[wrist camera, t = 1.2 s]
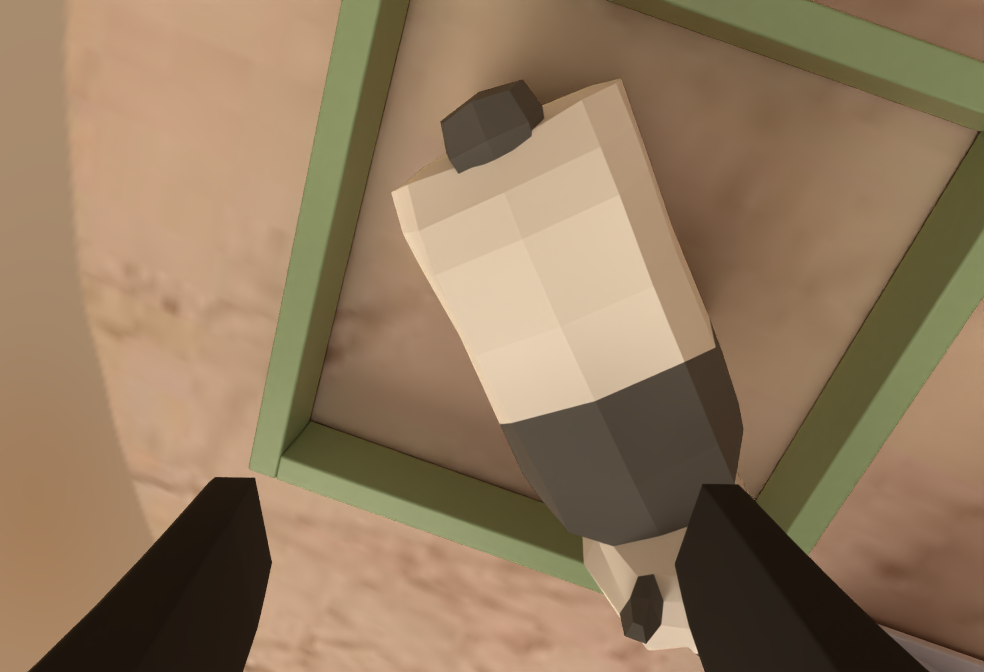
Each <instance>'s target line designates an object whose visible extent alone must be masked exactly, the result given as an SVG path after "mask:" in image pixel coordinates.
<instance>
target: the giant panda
mask: <svg viewBox="0 0 984 672" xmlns="http://www.w3.org/2000/svg"><path fill="white" fill-rule="evenodd" d="M440 122H441V127H442V132H443V137H444V142H445V147H446V153H447V154H446V155H444V156H442V157H440V158H439V159H437V160H435V161H434V162H432V163H430V164H429V165H427V166H425V167H423V168H422V169H421V170H420V171H419V172H417V173H416V174H415V175H414V176H413V177H412V178H410V179H409V180H408V181H407V182H406V183H405V184H403V185H402V186H400V187H399V188H397V189H396V190H394V191H393V192H391V194H392V198H393V201H394V204H395V208H396V211H397V215H398V218H399V222H400V225H401V229H402V232H403V235H404V237H405V238H406V240H407V242H408V244H409V246H410V248H411V250H412V252H413V254H414V256H415V257H416V259H417V261H418V263H419V265H420V267H421V269H422V271H423V273H424V274H425V276H426V278H427V280H428V281H429V283H430V285H431V287H432V288H433V290H434V292H435V294H436V295H437V297H438V299H439V301H440V302H441V304H442V306H443V308H444V309H445V311H446V313H447V315H448V316H449V318H450V320H451V322H452V323H453V325H454V327H455V329H456V330H457V332H458V334H459V336H460V338H461V340H462V342H463V344H464V347H465V349H466V351H467V353H468V355H469V358H470V360H471V362H472V364H473V366H474V369H475V371H476V373H477V375H478V377H479V380H480V382H481V384H482V386H483V388H484V391H485V393H486V395H487V397H488V399H489V402H490V404H491V406H492V408H493V410H494V413H495V415H496V417H497V419H498V421H499V424H500V426H501V428H502V430H503V432H504V434H505V436H506V439H507V441H508V443H509V445H510V447H511V449H512V451H513V454H514V456H515V458H516V460H517V462H518V464H519V466H520V469H521V471H522V473H523V475H524V476H525V478H526V479H527V480H528V482H529V483H530V485H531V486H532V488H533V489H534V491H535V492H536V493H537V495H538V496H539V497H540V498H541V500H542V501H543V502H544V503H545V504H546V506H547V507H548V508H549V509H550V510H551V512H552V513H553V514H554V515H555V516H556V518H557V519H558V520H559V521H560V522H561V523H562V525H563V526H564V527H565V528H566V529H567V531H568V532H569V533H572V534H575V535H578V536H582V537H583V557H584V565H585V567H586V568H587V570H588V571H589V572H590V574H591V575H592V577H593V578H594V580H595V581H596V583H597V584H598V586H599V587H600V589H601V590H602V592H603V593H604V595H605V596H606V598H607V599H608V601H609V602H610V604H611V605H612V607H613V608H614V610H615V611H616V613H617V614H618V616H619V617H620V618H621V622H622V626H623V631H624V635H625V636H626V637H629V638H632V639H634V640H637V641H640V642H642V643H643V645H644V646H645V647H646V648H647V649H648V650H660V649H672V648H683V647H688V648H690V649H691V650H692V651H693V652H694V653H695V654H696V655H698V656H699V654H698V651H697V648H696V645H695V643H694V640H693V637H692V634H691V631H690V628H689V625H688V621H687V617H686V613H685V608H684V604H683V600H682V596H681V592H680V587H679V582H678V578H677V573H676V569H675V561H676V558H677V556H678V553H679V550H680V547H681V544H682V541H683V538H684V535H685V532H686V530H687V527H688V524H689V521H690V518H691V515H692V512H693V509H694V507H695V504H696V501H697V498H698V495H699V492H700V489H701V486H702V484H739V485H740V486H741V487H742V488H743V489H744V490H745V491H746V489H745V487H744V485H743V483H742V481H741V479H740V477H739V476H738V474H737V467H738V460H739V454H740V448H741V442H742V435H743V425H742V419H741V414H740V409H739V404H738V400H737V397H736V394H735V391H734V388H733V385H732V381H731V378H730V375H729V372H728V369H727V366H726V362H725V359H724V356H723V353H722V350H721V348H720V345H719V342H718V340H717V337H716V334H715V332H714V329H713V326H712V324H711V321H710V318H709V316H708V313H707V311H706V309H705V306H704V304H703V301H702V299H701V296H700V294H699V291H698V289H697V286H696V284H695V282H694V279H693V277H692V274H691V272H690V269H689V267H688V264H687V262H686V259H685V257H684V255H683V252H682V250H681V247H680V245H679V242H678V240H677V237H676V235H675V232H674V230H673V228H672V225H671V222H670V219H669V216H668V213H667V210H666V207H665V204H664V201H663V199H662V196H661V193H660V190H659V187H658V184H657V181H656V178H655V175H654V172H653V169H652V166H651V163H650V160H649V157H648V154H647V151H646V148H645V146H644V143H643V140H642V137H641V134H640V131H639V128H638V126H637V123H636V120H635V117H634V114H633V111H632V108H631V106H630V103H629V100H628V97H627V94H626V91H625V88H624V85H623V82H622V79H621V78H620V79H616V80H612V81H608V82H604V83H600V84H596V85H592V86H588V87H586V88H583V89H581V90H578V91H576V92H573V93H571V94H569V95H566V96H564V97H561V98H559V99H556V100H554V101H552V102H549V103H547V104H544V105H541V104H540V102H539V101H538V100H537V98H536V97H535V96H534V94H533V93H532V91H531V90H530V89H529V87H528V86H527V85H526V83H525V82H524V80H519V81H516V82H512V83H509V84H506V85H502V86H499V87H495V88H492V89H488V90H485V91H481V92H478V93H477V94H475V95H474V96H473V97H472V98H470V99H469V100H468V101H466V102H465V103H464V104H463V105H461V106H460V107H459V108H457V109H456V110H455V111H453V112H452V113H451V114H450V115H448V116H447V117H446V118H444V119H443V120H442V121H440ZM746 492H747V491H746Z"/></svg>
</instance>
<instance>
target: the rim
mask: <svg viewBox="0 0 984 672" xmlns="http://www.w3.org/2000/svg"><path fill="white" fill-rule="evenodd" d="M409 1H410V0H342V2H341V7H340V12H339V17H338V22H337V27H336V32H335V37H334V42H333V47H332V52H331V57H330V62H329V67H328V72H327V77H326V82H325V87H324V92H323V97H322V102H321V107H320V112H319V117H318V122H317V127H316V132H315V137H314V143H313V148H312V153H311V158H310V163H309V168H308V173H307V178H306V183H305V188H304V193H303V198H302V203H301V208H300V213H299V218H298V223H297V228H296V233H295V238H294V243H293V248H292V253H291V258H290V263H289V268H288V273H287V278H286V283H285V288H284V293H283V298H282V303H281V308H280V313H279V318H278V323H277V328H276V333H275V338H274V343H273V348H272V353H271V358H270V363H269V368H268V373H267V378H266V383H265V388H264V393H263V398H262V403H261V408H260V413H259V418H258V423H257V428H256V433H255V438H254V443H253V448H252V453H251V458H250V463H249V469H250V470H252V471H255V472H258V473H261V474H264V475H266V476H269V477H272V478H275V477H276V476H277V477H276V478H277V479H278V480H281V481H283V482H286V483H289V484H292V485H295V486H298V487H300V488H303V489H306V490H309V491H312V492H315V493H317V494H320V495H323V496H326V497H329V498H332V499H335V500H337V501H340V502H343V503H346V504H349V505H352V506H354V507H357V508H360V509H363V510H366V511H369V512H371V513H374V514H377V515H380V516H383V517H386V518H389V519H391V520H394V521H397V522H400V523H403V524H406V525H408V526H411V527H414V528H417V529H420V530H423V531H425V532H428V533H431V534H434V535H437V536H440V537H443V538H445V539H448V540H451V541H454V542H457V543H460V544H462V545H465V546H468V547H471V548H474V549H477V550H480V551H482V552H485V553H488V554H491V555H494V556H497V557H499V558H502V559H505V560H508V561H511V562H514V563H516V564H519V565H522V566H525V567H528V568H531V569H534V570H536V571H539V572H542V573H545V574H548V575H551V576H553V577H556V578H559V579H562V580H565V581H568V582H570V583H573V584H576V585H579V586H582V587H585V588H588V589H590V590H593V591H596V592H599V593H602V594H604V593H603V592H602V590H601V589H600V587H599V586H598V584H597V583H596V581H595V580H594V578H593V577H592V575H591V574H590V572H589V571H588V570H587V568H586V567H585V565H584V557H583V537H582V536H578V535H575V534H572V533H569V532H568V531H567V529H566V528H565V527H564V526H563V525H562V523H561V522H560V521H559V520H558V519H557V518H556V516H555V515H554V514H553V513H552V512H551V510H550V509H549V508H548V507H547V506H546V504H545V503H542V502H539V501H536V500H533V499H531V498H528V497H525V496H522V495H519V494H516V493H513V492H511V491H508V490H505V489H502V488H499V487H496V486H494V485H491V484H488V483H485V482H482V481H479V480H477V479H474V478H471V477H468V476H465V475H462V474H459V473H457V472H454V471H451V470H448V469H445V468H442V467H440V466H437V465H434V464H431V463H428V462H425V461H423V460H420V459H417V458H414V457H411V456H408V455H405V454H403V453H400V452H397V451H394V450H391V449H388V448H386V447H383V446H380V445H377V444H374V443H371V442H369V441H366V440H363V439H360V438H357V437H354V436H351V435H349V434H346V433H343V432H340V431H337V430H334V429H332V428H329V427H326V426H323V425H320V424H317V423H315V422H309V421H310V416H311V412H312V408H313V404H314V400H315V395H316V391H317V387H318V383H319V379H320V374H321V370H322V366H323V362H324V358H325V353H326V349H327V345H328V341H329V337H330V332H331V328H332V324H333V320H334V316H335V311H336V307H337V303H338V299H339V295H340V290H341V286H342V282H343V278H344V274H345V269H346V265H347V261H348V257H349V253H350V248H351V244H352V240H353V236H354V232H355V227H356V223H357V219H358V215H359V211H360V206H361V202H362V198H363V194H364V190H365V185H366V181H367V177H368V173H369V169H370V164H371V160H372V156H373V152H374V148H375V143H376V139H377V135H378V131H379V127H380V122H381V118H382V114H383V110H384V106H385V101H386V97H387V93H388V89H389V85H390V80H391V76H392V72H393V68H394V64H395V59H396V55H397V51H398V47H399V43H400V39H401V34H402V30H403V26H404V22H405V18H406V13H407V9H408V5H409ZM608 1H611V2H614V3H616V4H619V5H622V6H625V7H628V8H631V9H633V10H636V11H639V12H642V13H645V14H648V15H650V16H653V17H656V18H659V19H662V20H665V21H667V22H670V23H673V24H676V25H679V26H682V27H685V28H687V29H690V30H693V31H696V32H699V33H702V34H704V35H707V36H710V37H713V38H716V39H719V40H721V41H724V42H727V43H730V44H733V45H736V46H738V47H741V48H744V49H747V50H750V51H753V52H755V53H758V54H761V55H764V56H767V57H770V58H772V59H775V60H778V61H781V62H784V63H787V64H789V65H792V66H795V67H798V68H801V69H804V70H807V71H809V72H812V73H815V74H818V75H821V76H824V77H826V78H829V79H832V80H835V81H838V82H841V83H843V84H846V85H849V86H852V87H855V88H858V89H860V90H863V91H866V92H869V93H872V94H875V95H877V96H880V97H883V98H886V99H889V100H892V101H894V102H897V103H900V104H903V105H906V106H909V107H912V108H914V109H917V110H920V111H923V112H926V113H929V114H931V115H934V116H937V117H940V118H943V119H946V120H948V121H951V122H954V123H957V124H960V125H963V126H965V127H968V128H971V129H974V130H977V131H981V132H980V134H979V135H978V137H977V138H976V140H975V142H974V143H973V145H972V147H971V148H970V150H969V152H968V153H967V155H966V157H965V158H964V160H963V161H962V163H961V165H960V166H959V168H958V170H957V171H956V173H955V175H954V176H953V178H952V180H951V181H950V183H949V184H948V186H947V188H946V189H945V191H944V193H943V194H942V196H941V198H940V199H939V201H938V203H937V204H936V206H935V207H934V209H933V211H932V212H931V214H930V216H929V217H928V219H927V221H926V222H925V224H924V226H923V227H922V229H921V231H920V232H919V234H918V235H917V237H916V239H915V240H914V242H913V244H912V245H911V247H910V249H909V250H908V252H907V254H906V255H905V257H904V258H903V260H902V262H901V263H900V265H899V267H898V268H897V270H896V272H895V273H894V275H893V277H892V278H891V280H890V281H889V283H888V285H887V286H886V288H885V290H884V291H883V293H882V295H881V296H880V298H879V300H878V301H877V303H876V304H875V306H874V308H873V309H872V311H871V313H870V314H869V316H868V318H867V319H866V321H865V323H864V324H863V326H862V327H861V329H860V331H859V332H858V334H857V336H856V337H855V339H854V341H853V342H852V344H851V346H850V347H849V349H848V350H847V352H846V354H845V355H844V357H843V359H842V360H841V362H840V364H839V365H838V367H837V369H836V370H835V372H834V373H833V375H832V377H831V378H830V380H829V382H828V383H827V385H826V387H825V388H824V390H823V392H822V393H821V395H820V396H819V398H818V400H817V401H816V403H815V405H814V406H813V408H812V410H811V411H810V413H809V415H808V416H807V418H806V420H805V421H804V423H803V424H802V426H801V428H800V429H799V431H798V433H797V434H796V436H795V438H794V439H793V441H792V443H791V444H790V446H789V447H788V449H787V451H786V452H785V454H784V456H783V457H782V459H781V461H780V462H779V464H778V466H777V467H776V469H775V470H774V472H773V474H772V475H771V477H770V479H769V480H768V482H767V484H766V485H765V487H764V489H763V490H762V492H761V493H760V495H759V497H758V498H757V500H756V503H757V504H758V505H759V506H760V507H761V508H762V509H763V510H764V511H765V512H766V513H767V514H768V515H769V516H770V517H771V518H772V519H773V520H774V521H775V522H776V523H777V524H778V525H779V526H780V527H781V528H782V530H783V531H784V532H785V533H786V534H787V535H788V536H789V537H790V538H791V539H792V540H793V541H794V542H795V543H796V544H797V545H798V546H799V547H800V548H801V549H802V550H803V551H804V552H805V553H806V554H807V555H808V554H809V553H810V551H811V550H812V548H813V547H814V546H815V544H816V543H817V541H818V540H819V538H820V537H821V535H822V534H823V532H824V531H825V529H826V528H827V526H828V525H829V523H830V522H831V521H832V519H833V518H834V516H835V515H836V513H837V512H838V510H839V509H840V507H841V506H842V504H843V503H844V501H845V500H846V498H847V497H848V495H849V494H850V493H851V491H852V490H853V488H854V487H855V485H856V484H857V482H858V481H859V479H860V478H861V476H862V475H863V473H864V472H865V470H866V469H867V468H868V466H869V465H870V463H871V462H872V460H873V459H874V457H875V456H876V454H877V453H878V451H879V450H880V448H881V447H882V445H883V444H884V442H885V441H886V440H887V438H888V437H889V435H890V434H891V432H892V431H893V429H894V428H895V426H896V425H897V423H898V422H899V420H900V419H901V417H902V416H903V414H904V413H905V412H906V410H907V409H908V407H909V406H910V404H911V403H912V401H913V400H914V398H915V397H916V395H917V394H918V392H919V391H920V389H921V388H922V387H923V385H924V384H925V382H926V381H927V379H928V378H929V376H930V375H931V373H932V372H933V370H934V369H935V367H936V366H937V364H938V363H939V361H940V360H941V359H942V357H943V356H944V354H945V353H946V351H947V350H948V348H949V347H950V345H951V344H952V342H953V341H954V339H955V338H956V336H957V335H958V334H959V332H960V331H961V329H962V328H963V326H964V325H965V323H966V322H967V320H968V319H969V317H970V316H971V314H972V313H973V311H974V310H975V308H976V307H977V306H978V304H979V303H980V301H981V300H982V298H983V297H984V62H983V61H980V60H977V59H974V58H972V57H969V56H966V55H963V54H960V53H957V52H955V51H952V50H949V49H946V48H943V47H940V46H938V45H935V44H932V43H929V42H926V41H923V40H921V39H918V38H915V37H912V36H909V35H906V34H904V33H901V32H898V31H895V30H892V29H889V28H886V27H884V26H881V25H878V24H875V23H872V22H869V21H867V20H864V19H861V18H858V17H855V16H852V15H850V14H847V13H844V12H841V11H838V10H835V9H833V8H830V7H827V6H824V5H821V4H818V3H816V2H813V1H810V0H608Z"/></svg>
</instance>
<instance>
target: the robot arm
mask: <svg viewBox="0 0 984 672" xmlns="http://www.w3.org/2000/svg"><path fill="white" fill-rule="evenodd" d="M271 565H272V561H271V556H270V551H269V546H268V541H267V536H266V531H265V526H264V521H263V516H262V511H261V506H260V501H259V496H258V491H257V486H256V481H255V478H233V477H215V478H214V479H212V480H211V481H210V482H209V483H208V484H207V485H206V486H205V487H204V489H203V490H202V491H201V492H200V493H199V494H198V495H197V496H196V498H195V499H194V500H193V501H192V502H191V503H190V504H189V505H188V507H187V508H186V509H185V510H184V511H183V512H182V513H181V514H180V516H179V517H178V518H177V519H176V520H175V521H174V522H173V523H172V525H171V526H170V527H169V528H168V529H167V530H166V531H165V532H164V533H163V535H162V536H161V537H160V538H159V539H158V540H157V541H156V542H155V543H154V544H153V546H152V547H151V548H150V549H149V550H148V551H147V552H146V553H145V554H144V555H143V557H142V558H141V559H140V560H139V561H138V562H137V563H136V564H135V565H134V566H133V567H132V568H131V569H130V570H129V571H128V572H127V573H126V574H125V575H124V576H123V578H122V579H121V580H120V581H119V582H118V583H117V584H116V585H115V586H114V587H113V588H112V589H111V590H110V591H109V592H108V593H107V594H106V595H105V597H104V598H103V599H102V600H101V601H100V602H99V603H98V604H97V605H96V606H95V607H94V608H93V609H92V610H91V611H90V612H89V613H88V614H87V615H86V616H85V617H84V618H83V619H82V620H81V621H80V622H79V623H78V624H77V625H76V626H75V627H73V628H72V629H71V630H70V631H69V632H68V633H67V634H66V635H65V636H64V637H63V638H62V639H61V640H60V641H59V642H58V643H57V644H56V645H55V646H54V647H53V648H52V649H51V650H50V651H49V652H48V653H47V654H46V655H45V656H44V657H43V658H42V659H41V660H40V661H39V662H38V663H37V664H36V665H34V666H33V667H32V668H31V669H30V670H29V671H28V672H243V670H244V667H245V664H246V661H247V658H248V655H249V652H250V649H251V646H252V643H253V640H254V637H255V634H256V631H257V628H258V623H259V619H260V615H261V610H262V606H263V602H264V598H265V593H266V588H267V583H268V579H269V574H270V569H271ZM675 569H676V573H677V578H678V582H679V587H680V592H681V596H682V600H683V604H684V608H685V613H686V617H687V621H688V625H689V628H690V631H691V634H692V637H693V640H694V643H695V645H696V648H697V651H698V654H699V657H700V659H701V662H702V665H703V668H704V671H705V672H984V661H982V660H979V659H976V658H973V657H971V656H968V655H965V654H962V653H959V652H956V651H953V650H951V649H948V648H945V647H942V646H939V645H936V644H934V643H931V642H928V641H925V640H922V639H919V638H917V637H914V636H911V635H908V634H905V633H902V632H899V631H897V630H894V629H891V628H888V627H885V626H882V625H880V624H877V623H876V622H875V621H874V620H873V619H872V618H871V617H869V616H868V615H867V614H866V613H865V612H864V611H863V610H862V609H861V608H860V607H859V606H858V605H857V604H856V603H855V602H854V601H853V600H852V599H851V598H850V597H849V596H848V595H847V594H846V593H845V592H844V591H843V590H842V589H841V588H840V587H839V586H838V585H837V584H836V583H835V582H833V581H832V580H831V579H830V578H829V577H828V576H827V575H826V574H825V573H824V572H823V571H822V569H821V568H820V567H819V566H818V565H817V564H816V563H815V562H814V561H813V560H812V559H811V558H810V557H809V556H808V555H807V554H806V553H805V552H804V551H803V550H802V549H801V548H800V547H799V546H798V545H797V544H796V543H795V542H794V541H793V540H792V539H791V538H790V537H789V536H788V535H787V534H786V533H785V532H784V531H783V530H782V528H781V527H780V526H779V525H778V524H777V523H776V522H775V521H774V520H773V519H772V518H771V517H770V516H769V515H768V514H767V513H766V512H765V511H764V510H763V509H762V508H761V507H760V506H759V505H758V504H757V503H756V502H755V500H754V499H753V498H752V497H751V496H750V495H749V494H748V493H747V492H746V491H745V490H744V489H743V488H742V487H741V486H740V485H739V484H702V486H701V489H700V492H699V495H698V498H697V501H696V504H695V507H694V509H693V512H692V515H691V518H690V521H689V524H688V527H687V530H686V532H685V535H684V538H683V541H682V544H681V547H680V550H679V553H678V556H677V558H676V561H675Z"/></svg>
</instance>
